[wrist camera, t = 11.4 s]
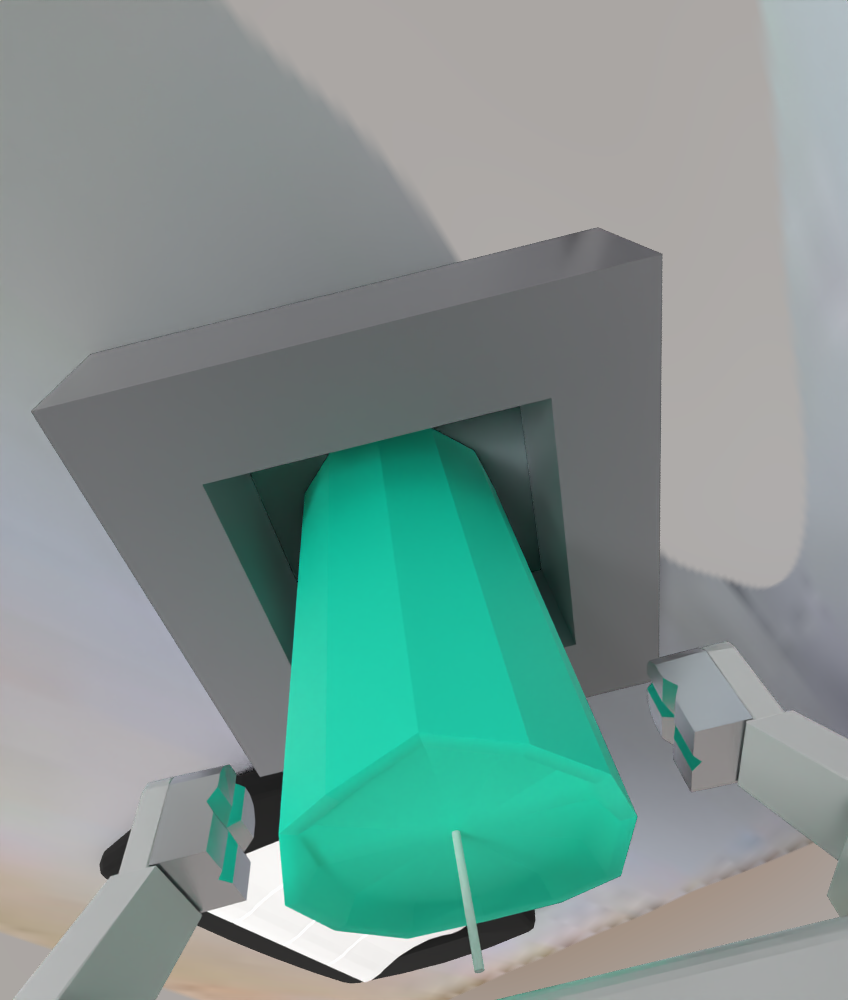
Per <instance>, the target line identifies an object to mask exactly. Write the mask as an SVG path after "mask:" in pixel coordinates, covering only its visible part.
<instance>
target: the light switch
mask: <svg viewBox="0 0 848 1000" xmlns="http://www.w3.org/2000/svg"><path fill="white" fill-rule="evenodd" d="M235 783H236V784H238V785H241V786H243V787H245V788H246V789H247V791H248V792H249V794H250V796H251V799H252V802H253V805H254V815H255V829H254V838H253V839H252V841H251V842H250V844H249V845H248V847H247V848H246V850H245V851H244V852H245V854H246V856H247V857H248V859H249V860H250V862H251V866H250V874H249V883H248V891H247V900H246V901H243V902H239V903H236V904H232V905H228V906H225V907H221V908H217V909H214V910H210V911H206V912H203V913H201V914H202V917H201V919H200V921H199V922H198V924H197V926H200V927H202V928H204V929H206V930H208V931H211V932H213V933H215V934H217V935H220V936H222V937H224V938H226V939H228V940H231V941H233V942H236V943H238V944H240V945H243V946H245V947H248V948H250V949H253V950H255V951H258V952H260V953H263V954H265V955H268V956H270V957H273V958H276V959H278V960H281V961H284V962H287V963H289V964H292V965H295V966H297V967H300V968H303V969H306V970H308V971H311V972H314V973H317V974H320V975H323V976H326V977H329V978H332V979H336V980H339V981H342V982H346V983H360V982H367V981H370V980H374V979H378V978H383V977H388V976H393V975H397V974H402V973H406V972H410V971H414V970H418V969H422V968H425V967H429V966H433V965H437V964H441V963H445V962H448V961H451V960H454V959H457V958H460V957H463V956H466V955H469V954H472V953H471V947H470V941H469V935H468V929H467V926H463V927H459V928H454V929H450V930H445V931H441V932H436V933H432V934H428V935H423V936H419V937H414V938H410V939H403V938H394V937H385V936H377V935H368V934H359V933H350V932H341V931H334V930H332V929H330V928H328V927H326V926H324V925H322V924H320V923H318V922H316V921H314V920H312V919H310V918H308V917H306V916H304V915H302V914H301V913H299V912H297V911H295V910H293V909H291V908H289V907H287V906H285V902H284V890H283V879H282V868H281V856H280V845H279V822H280V809H281V796H282V783H283V772H278V773H274V774H270V775H266V776H262V777H260V776H259V775H258V773H257V772H256V770H255V771H252V772H248V773H245V774H242V775H239V776H237V777H236V782H235ZM130 832H131V830H129V831H128V832H127V833H126V834H125V835H124V836H122V837H121V838H120V839H119V840H118V841H116V842H115V843H114V844H113V845H112V846H110V847H109V848H108V849H107V850H106V851H105V852H104V854H103V856H102V859H101V862H100V871H101V874H102V875H103V876H104V877H105V878H106V879H109V878H110V876H114V875H117V874H119V870H120V867H121V864H122V860H123V857H124V853H125V850H126V846H127V843H128V839H129V836H130ZM534 924H535V911H534V909H533V910H529V911H525V912H521V913H517V914H513V915H509V916H505V917H501V918H497V919H493V920H489V921H485V922H481V923H476V925H477V930H478V936H479V942H480V947H481V950H484V949H487V948H489V947H492V946H494V945H497V944H499V943H502V942H504V941H507V940H509V939H512V938H514V937H517V936H519V935H521V934H524V933H526V932H529V931H530V930H531V929H533V928H534Z"/></svg>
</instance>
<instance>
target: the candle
mask: <svg viewBox="0 0 848 1000" xmlns="http://www.w3.org/2000/svg"><path fill="white" fill-rule="evenodd" d="M636 820H637V814H636V812H635V810H634V808H633V805H632V803H631V801H630V798H629V796H628V794H627V791H626V789H625V787H624V785H623V782H622V780H621V778H620V775H619V773H618V771H617V768H616V766H615V764H614V762H613V759H612V757H611V755H610V752H609V750H608V748H607V745H606V743H605V741H604V739H603V736H602V734H601V732H600V729H599V727H598V725H597V723H596V720H595V718H594V716H593V713H592V711H591V709H590V706H589V704H588V702H587V700H586V697H585V695H584V693H583V690H582V688H581V686H580V683H579V681H578V679H577V677H576V674H575V672H574V670H573V667H572V665H571V663H570V660H569V658H568V656H567V654H566V651H565V649H564V647H563V644H562V642H561V640H560V637H559V635H558V633H557V631H556V628H555V626H554V624H553V621H552V619H551V617H550V615H549V612H548V610H547V608H546V605H545V603H544V601H543V598H542V596H541V594H540V592H539V589H538V587H537V585H536V582H535V580H534V578H533V575H532V573H531V571H530V569H529V566H528V564H527V562H526V559H525V557H524V555H523V552H522V550H521V548H520V546H519V543H518V541H517V539H516V536H515V534H514V532H513V529H512V527H511V525H510V523H509V520H508V518H507V516H506V513H505V511H504V509H503V507H502V504H501V502H500V500H499V497H498V495H497V493H496V490H495V488H494V486H493V485H492V483H491V481H490V479H489V477H488V475H487V474H486V472H485V470H484V468H483V466H482V464H481V462H480V461H479V459H478V457H477V455H476V453H475V451H474V450H472V449H470V448H468V447H466V446H464V445H463V444H461V443H459V442H457V441H455V440H453V439H451V438H450V437H448V436H446V435H444V434H442V433H440V432H438V431H436V430H435V429H433V428H429V429H425V430H421V431H417V432H412V433H408V434H404V435H400V436H396V437H392V438H388V439H384V440H380V441H376V442H372V443H368V444H364V445H360V446H356V447H352V448H348V449H344V450H340V451H336V452H332V453H329V455H328V456H327V458H326V460H325V461H324V463H323V464H322V466H321V468H320V469H319V471H318V473H317V474H316V476H315V478H314V479H313V481H312V483H311V484H310V486H309V488H308V489H307V491H306V492H305V495H304V508H303V521H302V534H301V547H300V561H299V574H298V587H297V600H296V613H295V626H294V639H293V652H292V665H291V678H290V691H289V704H288V718H287V731H286V744H285V757H284V770H283V783H282V796H281V809H280V822H279V845H280V856H281V868H282V879H283V890H284V902H285V906H287V907H289V908H291V909H293V910H295V911H297V912H299V913H301V914H302V915H304V916H306V917H308V918H310V919H312V920H314V921H316V922H318V923H320V924H322V925H324V926H326V927H328V928H330V929H332V930H334V931H341V932H350V933H359V934H368V935H377V936H385V937H394V938H403V939H410V938H414V937H419V936H423V935H428V934H432V933H436V932H441V931H445V930H450V929H454V928H459V927H463V926H467V929H468V935H469V941H470V947H471V953H472V959H473V965H474V971H475V973H481V972H483V971H484V964H483V959H482V953H481V947H480V942H479V936H478V930H477V925H476V923H481V922H485V921H489V920H493V919H497V918H501V917H505V916H509V915H513V914H517V913H521V912H525V911H529V910H533V909H537V908H541V907H545V906H549V905H553V904H557V903H561V902H564V901H566V900H568V899H570V898H572V897H575V896H577V895H579V894H581V893H584V892H586V891H588V890H590V889H593V888H595V887H597V886H599V885H602V884H604V883H606V882H608V881H611V880H613V879H615V878H617V877H620V876H621V874H622V870H623V866H624V863H625V859H626V856H627V852H628V849H629V845H630V841H631V838H632V834H633V831H634V827H635V824H636Z"/></svg>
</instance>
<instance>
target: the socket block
mask: <svg viewBox="0 0 848 1000" xmlns="http://www.w3.org/2000/svg"><path fill="white" fill-rule="evenodd" d="M661 338H662V254H661V253H659V252H657V251H654V250H652V249H649V248H647V247H644V246H642V245H639V244H637V243H635V242H632V241H630V240H627V239H625V238H622V237H620V236H618V235H615V234H613V233H610V232H608V231H605V230H603V229H601V228H593V229H590V230H585V231H581V232H577V233H573V234H569V235H566V236H561V237H558V238H554V239H549V240H545V241H541V242H537V243H534V244H530V245H526V246H521V247H518V248H513V249H509V250H506V251H501V252H497V253H493V254H489V255H485V256H481V257H477V258H474V259H469V260H465V261H461V262H457V263H453V264H449V265H445V266H441V267H437V268H433V269H429V270H425V271H421V272H417V273H413V274H409V275H405V276H401V277H397V278H393V279H389V280H385V281H381V282H377V283H373V284H369V285H365V286H361V287H357V288H353V289H349V290H345V291H341V292H337V293H333V294H329V295H325V296H321V297H317V298H313V299H309V300H305V301H301V302H297V303H293V304H289V305H285V306H281V307H277V308H273V309H269V310H265V311H261V312H257V313H253V314H249V315H245V316H241V317H237V318H233V319H229V320H225V321H221V322H217V323H213V324H209V325H205V326H201V327H197V328H193V329H189V330H185V331H181V332H177V333H173V334H169V335H165V336H161V337H157V338H153V339H149V340H145V341H141V342H137V343H133V344H129V345H125V346H121V347H117V348H113V349H109V350H105V351H101V352H97V353H93V354H90V355H89V356H88V357H87V358H86V359H85V360H84V361H83V362H82V363H81V364H80V365H79V366H78V367H77V368H76V369H74V370H73V371H72V372H71V373H70V374H69V375H68V376H67V377H66V378H65V379H64V380H63V381H62V382H61V383H60V384H59V385H58V386H57V387H56V388H55V389H54V390H53V391H52V392H51V393H50V394H49V395H47V396H46V397H45V398H44V399H43V400H42V401H41V402H40V403H39V404H38V405H37V406H36V407H35V408H34V409H33V410H32V411H31V412H32V414H33V415H34V417H35V419H36V420H37V422H38V423H39V425H40V427H41V428H42V430H43V431H44V433H45V435H46V436H47V438H48V439H49V441H50V443H51V444H52V446H53V447H54V449H55V451H56V452H57V454H58V455H59V457H60V459H61V460H62V462H63V463H64V465H65V467H66V468H67V470H68V471H69V473H70V475H71V476H72V478H73V479H74V481H75V483H76V484H77V486H78V487H79V489H80V490H81V492H82V494H83V495H84V497H85V498H86V500H87V502H88V503H89V505H90V506H91V508H92V510H93V511H94V513H95V514H96V516H97V518H98V519H99V521H100V522H101V524H102V526H103V527H104V529H105V530H106V532H107V534H108V535H109V537H110V538H111V540H112V542H113V543H114V545H115V546H116V548H117V550H118V551H119V553H120V554H121V556H122V558H123V559H124V561H125V562H126V564H127V566H128V567H129V569H130V570H131V572H132V574H133V575H134V577H135V578H136V580H137V582H138V583H139V585H140V586H141V588H142V589H143V591H144V593H145V594H146V596H147V597H148V599H149V601H150V602H151V604H152V605H153V607H154V609H155V610H156V612H157V613H158V615H159V617H160V618H161V620H162V621H163V623H164V625H165V626H166V628H167V629H168V631H169V633H170V634H171V636H172V637H173V639H174V641H175V642H176V644H177V645H178V647H179V649H180V650H181V652H182V653H183V655H184V657H185V658H186V660H187V661H188V663H189V665H190V666H191V668H192V669H193V671H194V673H195V674H196V676H197V677H198V679H199V681H200V682H201V684H202V685H203V687H204V688H205V690H206V692H207V693H208V695H209V696H210V698H211V700H212V701H213V703H214V704H215V706H216V708H217V709H218V711H219V712H220V714H221V716H222V717H223V719H224V720H225V722H226V724H227V725H228V727H229V728H230V730H231V732H232V733H233V735H234V736H235V738H236V740H237V741H238V743H239V744H240V746H241V748H242V749H243V751H244V752H245V754H246V756H247V757H248V759H249V760H250V762H251V764H252V765H253V767H254V768H255V770H256V772H257V773H258V775H259V776H260V777H262V776H266V775H270V774H274V773H278V772H283V770H284V757H285V744H286V731H287V718H288V704H289V691H290V678H291V665H292V652H293V639H294V626H295V613H296V600H297V587H298V584H297V582H296V580H295V577H294V575H293V573H292V571H291V568H290V566H289V564H288V561H287V559H286V557H285V554H284V552H283V550H282V547H281V545H280V543H279V540H278V538H277V536H276V534H275V531H274V529H273V527H272V524H271V522H270V520H269V517H268V515H267V513H266V510H265V508H264V506H263V504H262V501H261V499H260V497H259V494H258V492H257V490H256V487H255V485H254V483H253V480H252V478H251V476H250V474H249V473H251V472H255V471H259V470H263V469H267V468H271V467H275V466H279V465H283V464H287V463H291V462H296V461H300V460H304V459H308V458H312V457H316V456H320V455H324V454H328V453H332V452H336V451H340V450H344V449H348V448H352V447H356V446H360V445H364V444H368V443H372V442H376V441H380V440H384V439H388V438H392V437H396V436H400V435H404V434H408V433H412V432H417V431H421V430H425V429H429V428H433V427H437V426H441V425H445V424H449V423H453V422H457V421H461V420H465V419H469V418H473V417H477V416H481V415H485V414H489V413H493V412H497V411H501V410H505V409H509V408H513V407H517V406H520V409H521V416H522V424H523V432H524V439H525V447H526V454H527V462H528V469H529V477H530V485H531V492H532V500H533V507H534V515H535V522H536V530H537V538H538V545H539V553H540V560H541V568H542V570H539V571H535V572H531V573H532V575H533V578H534V580H535V582H536V585H537V587H538V589H539V592H540V594H541V596H542V598H543V601H544V603H545V605H546V608H547V610H548V612H549V615H550V617H551V619H552V621H553V624H554V626H555V628H556V631H557V633H558V635H559V637H560V640H561V642H562V644H563V647H564V649H565V651H566V654H567V656H568V658H569V660H570V663H571V665H572V667H573V670H574V672H575V674H576V677H577V679H578V681H579V683H580V686H581V688H582V690H583V693H584V695H585V697H590V696H594V695H598V694H602V693H606V692H611V691H615V690H619V689H623V688H627V687H631V686H635V685H639V684H643V683H647V682H651V680H650V678H649V677H648V675H647V664H648V662H649V660H653V659H656V658H659V563H660V454H661V345H662V343H661V341H662V340H661Z"/></svg>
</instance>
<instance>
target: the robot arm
mask: <svg viewBox="0 0 848 1000" xmlns="http://www.w3.org/2000/svg"><path fill="white" fill-rule="evenodd" d="M647 675H648V677H649V678H650V680H651V682H652V683H651V685H650V686H649V687H648V688H647V699H648V704H649V708H650V712H651V715H652V718H653V720H654V723H655V725H656V727H657V729H658V731H659V733H660V735H661V737H662V738H663V739H664V740H666V741H668V742H669V743H671V744H672V745H674V748H673V760H674V762H675V763H676V765H677V767H678V769H679V771H680V773H681V775H682V776H683V778H684V780H685V782H686V784H687V786H688V788H689V789H690V791H691V792H695V791H700V790H705V789H709V788H714V787H719V786H723V785H728V784H733V783H737V782H738V786H739V787H741V788H742V789H743V790H745V791H746V792H747V793H749V794H750V795H751V796H753V797H754V798H755V799H757V800H758V801H759V802H761V803H762V804H763V805H765V806H766V807H767V808H769V809H770V810H771V811H773V812H774V813H775V814H777V815H778V816H779V817H781V818H782V819H783V820H785V821H786V822H787V823H789V824H790V825H791V826H793V827H794V828H795V829H797V830H798V831H799V832H801V833H802V834H803V835H805V836H806V837H807V838H809V839H810V840H811V841H813V842H814V843H815V844H817V845H818V846H819V847H821V848H822V849H823V850H825V851H826V852H827V853H829V854H830V855H831V856H833V857H834V858H835V859H837V860H838V863H837V867H836V870H835V872H834V876H833V878H832V881H831V884H830V887H829V891H828V894H827V896H828V898H829V900H830V901H831V903H832V905H833V906H834V908H835V909H836V911H837V913H838V914H839V916H840V917H838V918H834V919H829V920H825V921H822V922H817V923H813V924H809V925H805V926H800V927H796V928H792V929H788V930H784V931H780V932H776V933H771V934H767V935H763V936H759V937H755V938H750V939H746V940H743V941H738V942H734V943H730V944H726V945H721V946H717V947H713V948H709V949H705V950H701V951H696V952H692V953H688V954H684V955H680V956H676V957H672V958H668V959H663V960H659V961H655V962H651V963H647V964H642V965H639V966H634V967H630V968H626V969H622V970H618V971H613V972H609V973H605V974H601V975H597V976H593V977H588V978H584V979H580V980H576V981H572V982H568V983H564V984H559V985H555V986H551V987H547V988H543V989H539V990H535V991H530V992H526V993H522V994H518V995H514V996H509V997H505V998H502V999H497V1000H848V739H847V738H845V737H844V736H842V735H840V734H838V733H836V732H834V731H832V730H830V729H828V728H826V727H824V726H823V725H821V724H819V723H817V722H815V721H813V720H811V719H809V718H807V717H805V716H803V715H801V714H800V713H798V712H796V711H794V710H790V711H785V712H784V710H783V709H782V708H781V706H780V705H779V704H778V702H777V701H776V700H775V698H774V697H773V696H772V695H771V693H770V692H769V691H768V689H767V688H766V687H765V685H764V684H763V683H762V682H761V680H760V679H759V678H758V676H757V675H756V674H755V672H754V671H753V670H752V669H751V667H750V666H749V665H748V663H747V662H746V661H745V659H744V658H743V657H742V656H741V654H740V653H739V652H738V650H737V649H736V648H735V646H734V645H733V644H731V643H729V642H728V641H726V642H721V643H717V644H713V645H710V646H706V647H702V648H695V649H691V650H687V651H683V652H679V653H675V654H672V655H668V656H664V657H660V658H656V659H653V660H649V662H648V664H647ZM236 775H237V774H236V773H235V771H234V770H233V769H232V767H231V766H230V765H225V766H220V767H216V768H211V769H207V770H202V771H198V772H193V773H189V774H184V775H180V776H175V777H170V778H166V779H162V780H158V781H154V782H150V783H148V784H147V786H146V787H145V789H144V790H143V792H142V794H141V798H140V801H139V805H138V808H137V812H136V815H135V819H134V822H133V825H132V829H131V832H130V836H129V839H128V843H127V846H126V850H125V853H124V857H123V860H122V864H121V867H120V870H119V874H117V875H114V876H110V878H109V879H108V880H107V882H106V883H105V884H104V885H103V887H102V888H101V889H100V890H99V892H98V893H97V894H96V895H95V897H94V898H93V899H92V900H91V902H90V903H89V904H88V905H87V907H86V908H85V909H84V910H83V912H82V913H81V914H80V915H79V917H78V918H77V919H76V921H75V922H74V923H73V924H72V926H71V927H70V928H69V929H68V931H67V932H66V933H65V934H64V936H63V937H62V938H61V939H60V941H59V942H58V943H57V944H56V946H55V947H54V948H53V949H52V951H51V952H50V953H49V954H48V956H47V957H46V958H45V960H44V961H43V962H42V963H41V965H40V966H39V967H38V968H37V970H36V971H35V972H34V973H33V975H32V976H31V977H30V978H29V980H28V981H27V982H26V984H25V985H24V986H23V987H22V989H21V990H20V991H19V992H18V994H17V995H16V996H15V997H14V999H13V1000H155V999H156V998H157V996H158V995H159V993H160V991H161V989H162V987H163V986H164V984H165V982H166V980H167V978H168V977H169V975H170V973H171V971H172V969H173V967H174V966H175V964H176V962H177V960H178V958H179V957H180V955H181V953H182V951H183V949H184V948H185V946H186V944H187V942H188V940H189V939H190V937H191V935H192V933H193V931H194V930H195V928H196V926H197V924H198V922H199V921H200V919H201V917H202V914H201V913H203V912H206V911H210V910H214V909H217V908H221V907H225V906H228V905H232V904H236V903H239V902H243V901H246V900H247V891H248V883H249V874H250V866H251V862H250V860H249V859H248V857H247V856H246V854H245V852H244V851H245V850H246V848H247V847H248V845H249V844H250V842H251V841H252V839H253V838H254V829H255V815H254V805H253V802H252V799H251V796H250V794H249V792H248V791H247V789H246V788H245V787H243V786H241V785H238V784H236V783H235V782H236Z"/></svg>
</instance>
